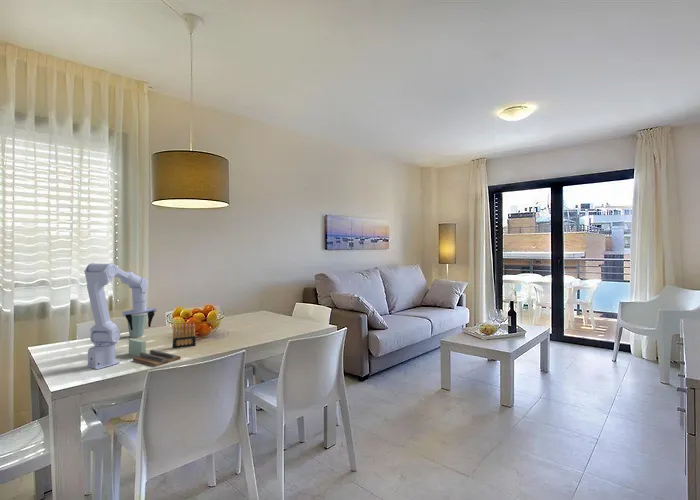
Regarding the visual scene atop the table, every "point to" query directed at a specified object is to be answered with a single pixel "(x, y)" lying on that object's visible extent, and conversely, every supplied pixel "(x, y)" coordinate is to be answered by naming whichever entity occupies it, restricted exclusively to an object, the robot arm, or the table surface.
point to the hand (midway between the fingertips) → (140, 328)
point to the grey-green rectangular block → (137, 347)
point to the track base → (156, 358)
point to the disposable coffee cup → (137, 325)
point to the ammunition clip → (184, 336)
